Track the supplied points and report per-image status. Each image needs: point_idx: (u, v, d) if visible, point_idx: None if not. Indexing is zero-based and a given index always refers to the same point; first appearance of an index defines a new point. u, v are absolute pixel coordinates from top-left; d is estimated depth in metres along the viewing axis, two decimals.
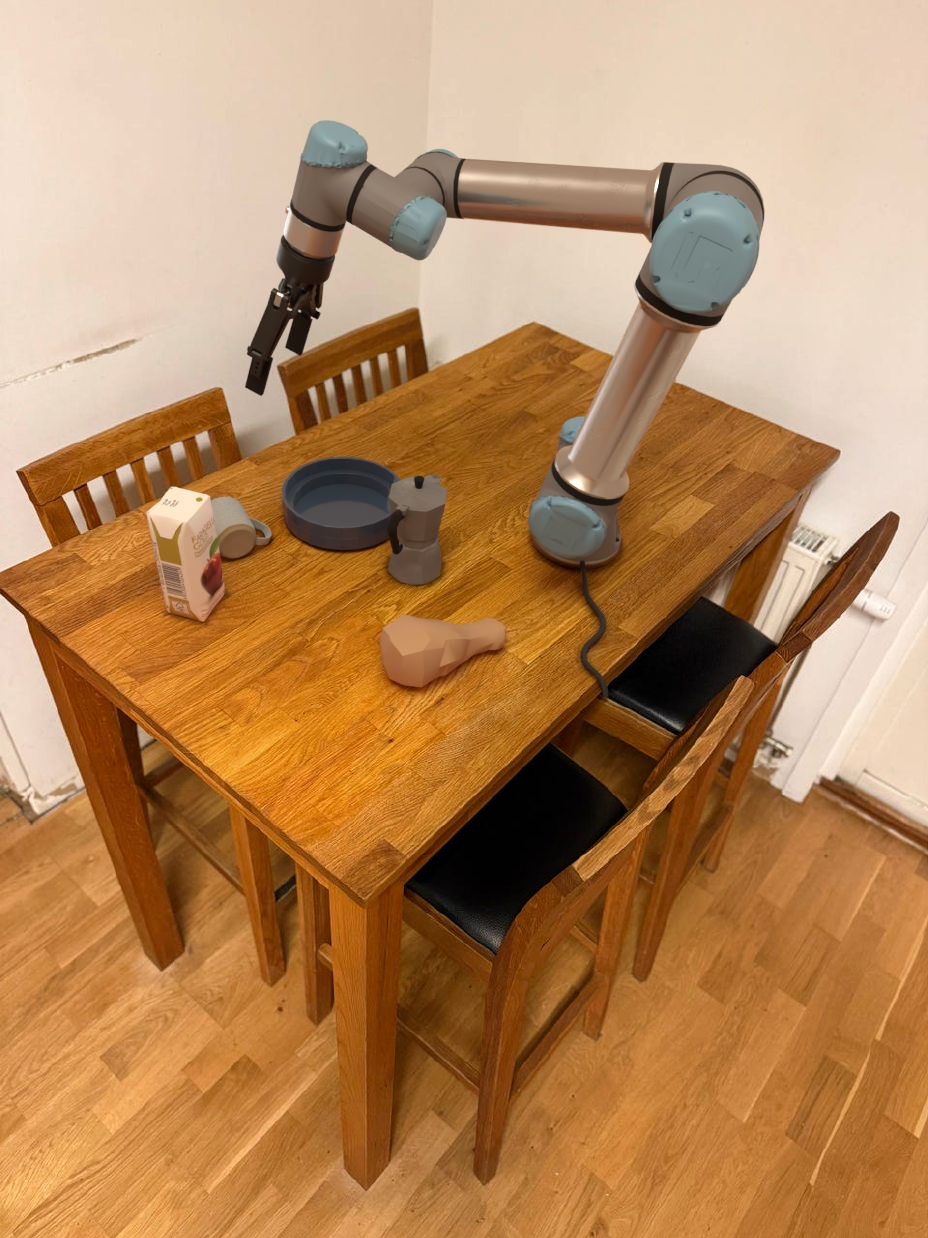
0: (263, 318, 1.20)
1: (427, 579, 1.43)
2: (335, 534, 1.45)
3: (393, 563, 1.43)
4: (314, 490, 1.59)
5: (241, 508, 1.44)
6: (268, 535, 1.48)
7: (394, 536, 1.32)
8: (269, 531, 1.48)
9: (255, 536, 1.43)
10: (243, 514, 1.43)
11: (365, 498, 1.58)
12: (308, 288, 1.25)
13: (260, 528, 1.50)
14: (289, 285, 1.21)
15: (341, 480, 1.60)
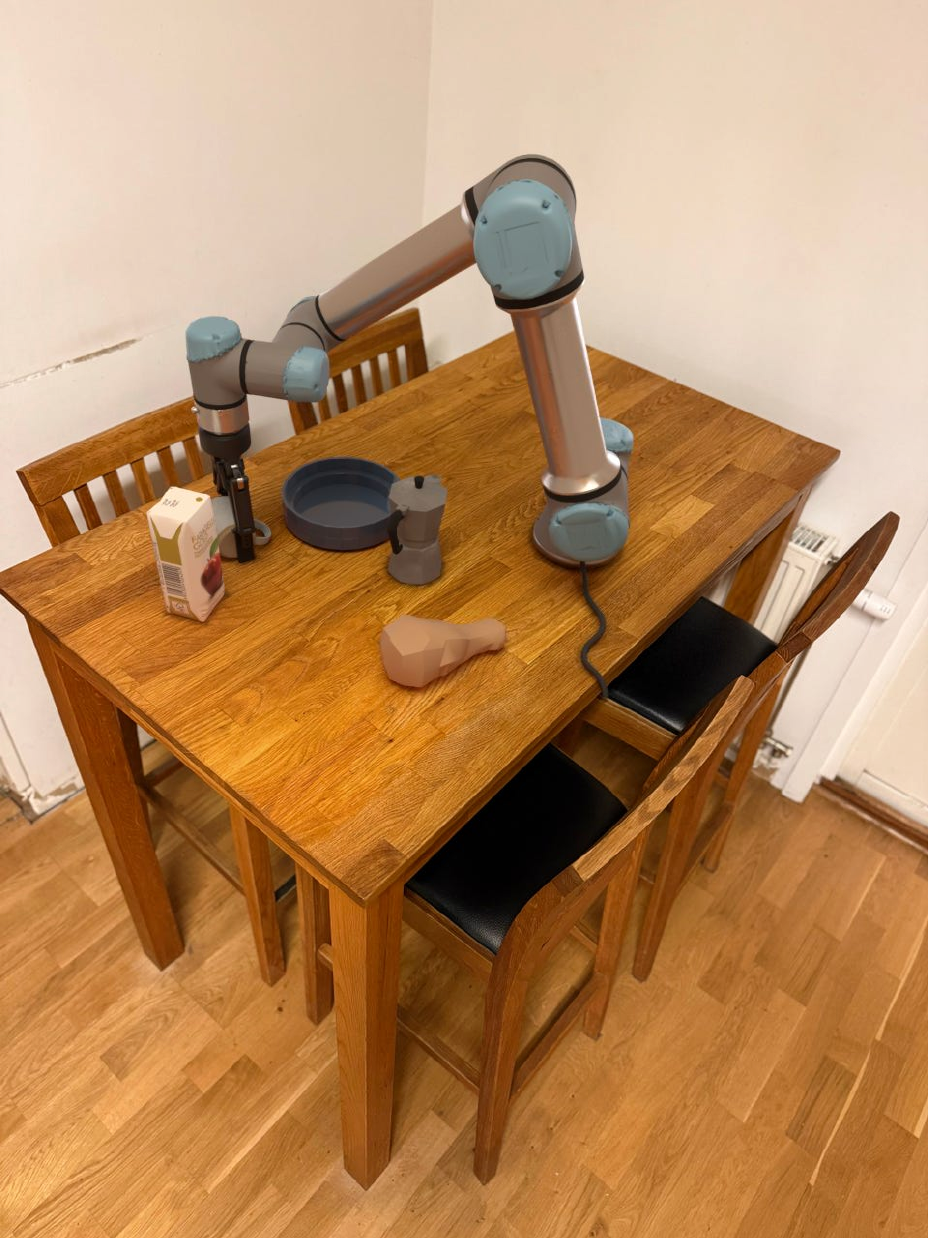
0: (237, 504, 1.34)
1: (427, 579, 1.43)
2: (335, 534, 1.45)
3: (393, 563, 1.43)
4: (314, 490, 1.59)
5: None
6: (267, 534, 1.48)
7: (394, 536, 1.32)
8: (268, 530, 1.49)
9: (254, 535, 1.43)
10: None
11: (365, 498, 1.58)
12: None
13: (259, 527, 1.50)
14: (233, 463, 1.33)
15: (341, 480, 1.60)
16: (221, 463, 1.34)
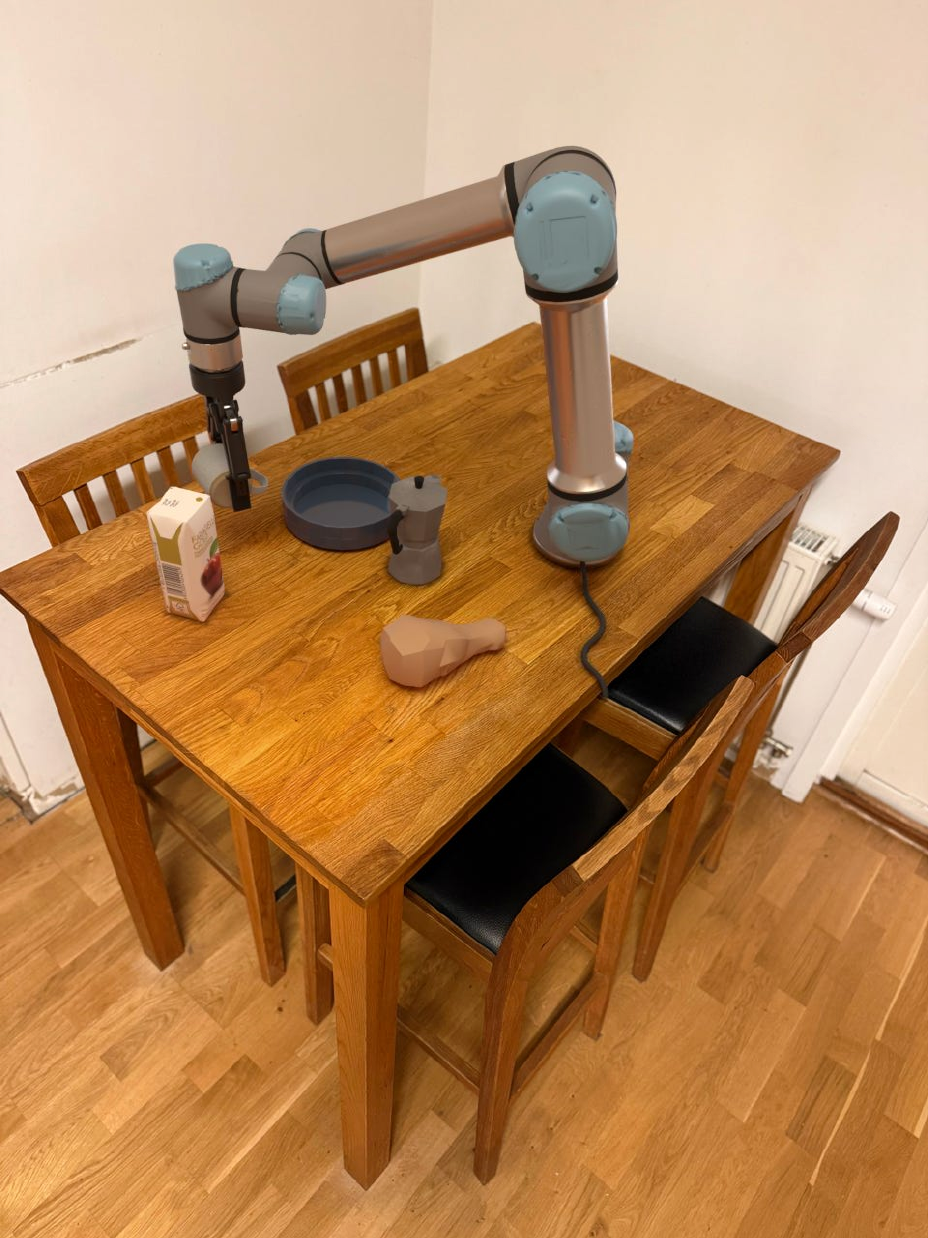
0: (230, 447, 1.27)
1: (427, 579, 1.43)
2: (335, 534, 1.45)
3: (393, 563, 1.43)
4: (314, 490, 1.59)
5: None
6: (264, 484, 1.41)
7: (394, 536, 1.32)
8: (265, 480, 1.42)
9: (250, 484, 1.37)
10: None
11: (365, 498, 1.58)
12: None
13: (256, 478, 1.43)
14: (227, 403, 1.26)
15: (341, 480, 1.60)
16: (214, 404, 1.28)
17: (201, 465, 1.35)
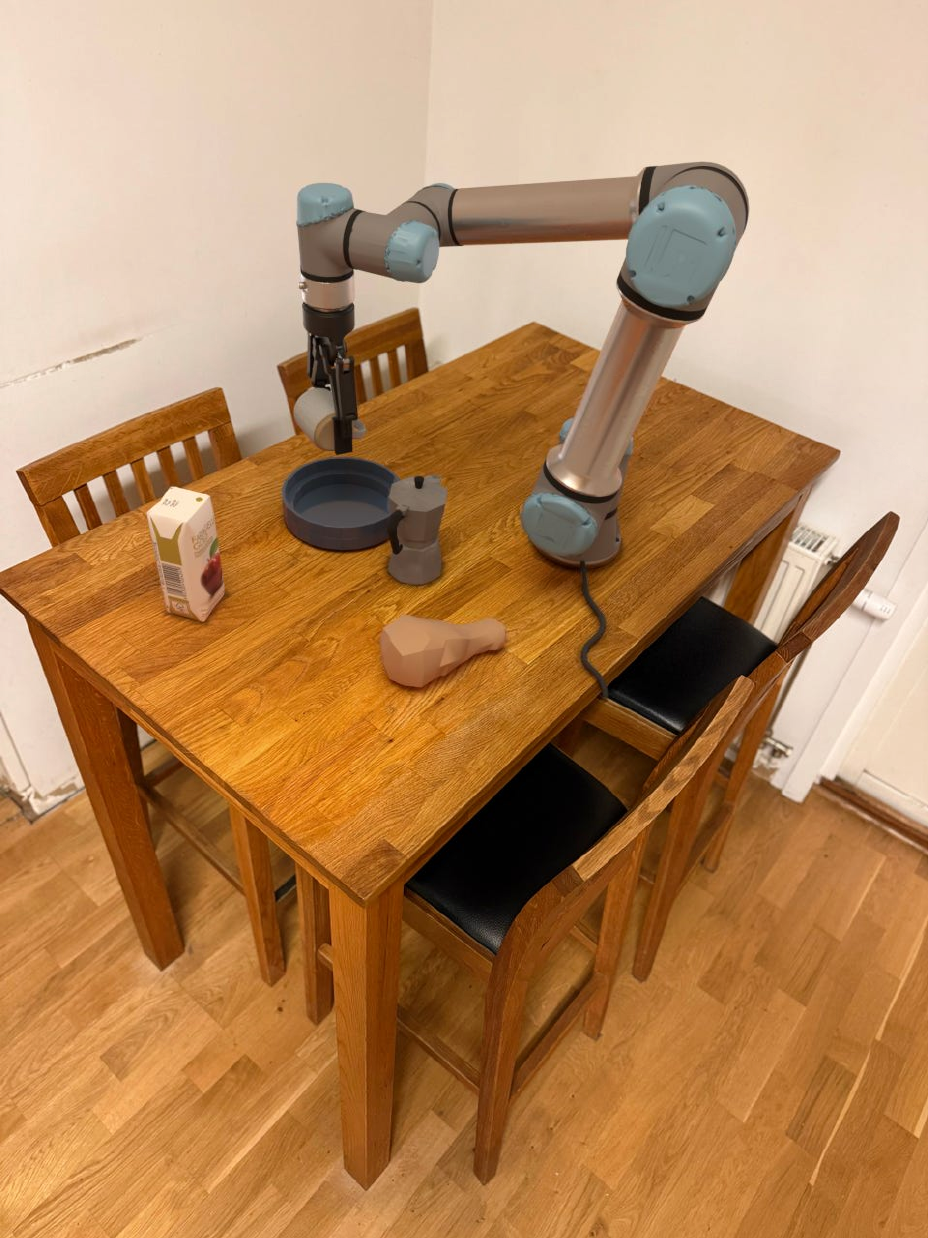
0: (341, 387, 1.30)
1: (427, 579, 1.43)
2: (335, 534, 1.45)
3: (393, 563, 1.43)
4: (314, 490, 1.59)
5: None
6: (363, 429, 1.44)
7: (394, 536, 1.32)
8: (363, 426, 1.44)
9: (352, 427, 1.39)
10: None
11: (365, 498, 1.58)
12: None
13: (353, 423, 1.46)
14: (338, 344, 1.29)
15: (341, 480, 1.60)
16: (324, 345, 1.30)
17: (305, 408, 1.38)
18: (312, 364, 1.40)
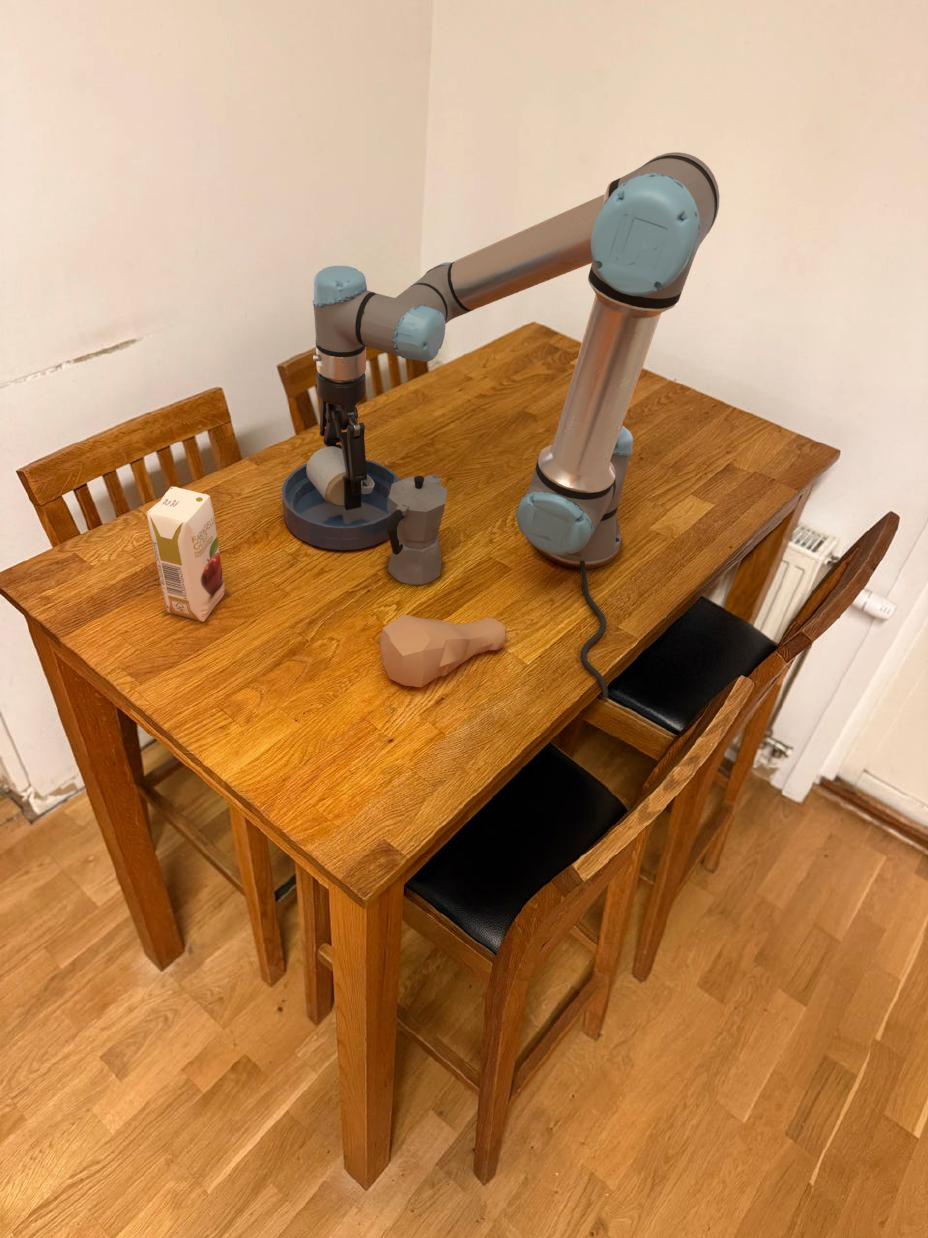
0: (352, 451, 1.38)
1: (427, 579, 1.43)
2: (335, 534, 1.45)
3: (393, 563, 1.43)
4: (314, 490, 1.59)
5: None
6: (371, 485, 1.52)
7: (394, 536, 1.32)
8: (371, 481, 1.53)
9: (361, 484, 1.48)
10: None
11: (365, 498, 1.58)
12: None
13: None
14: (350, 411, 1.37)
15: None
16: (336, 411, 1.39)
17: (317, 466, 1.47)
18: (324, 424, 1.49)
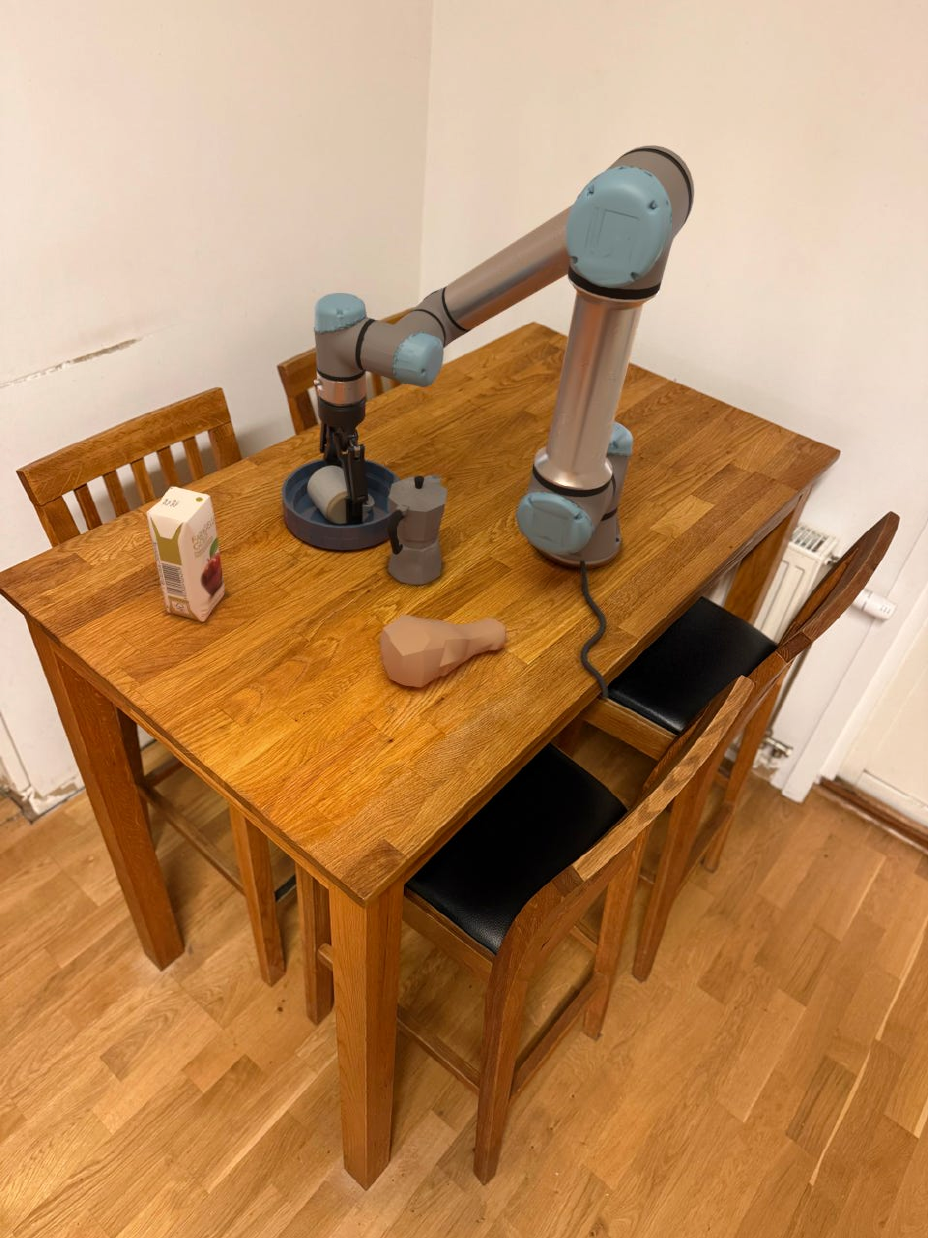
0: (353, 472, 1.41)
1: (427, 579, 1.43)
2: (335, 534, 1.45)
3: (393, 563, 1.43)
4: None
5: None
6: (371, 503, 1.55)
7: (394, 536, 1.32)
8: (371, 499, 1.56)
9: None
10: None
11: None
12: None
13: None
14: (350, 433, 1.40)
15: None
16: (337, 433, 1.42)
17: (318, 485, 1.49)
18: (324, 442, 1.52)
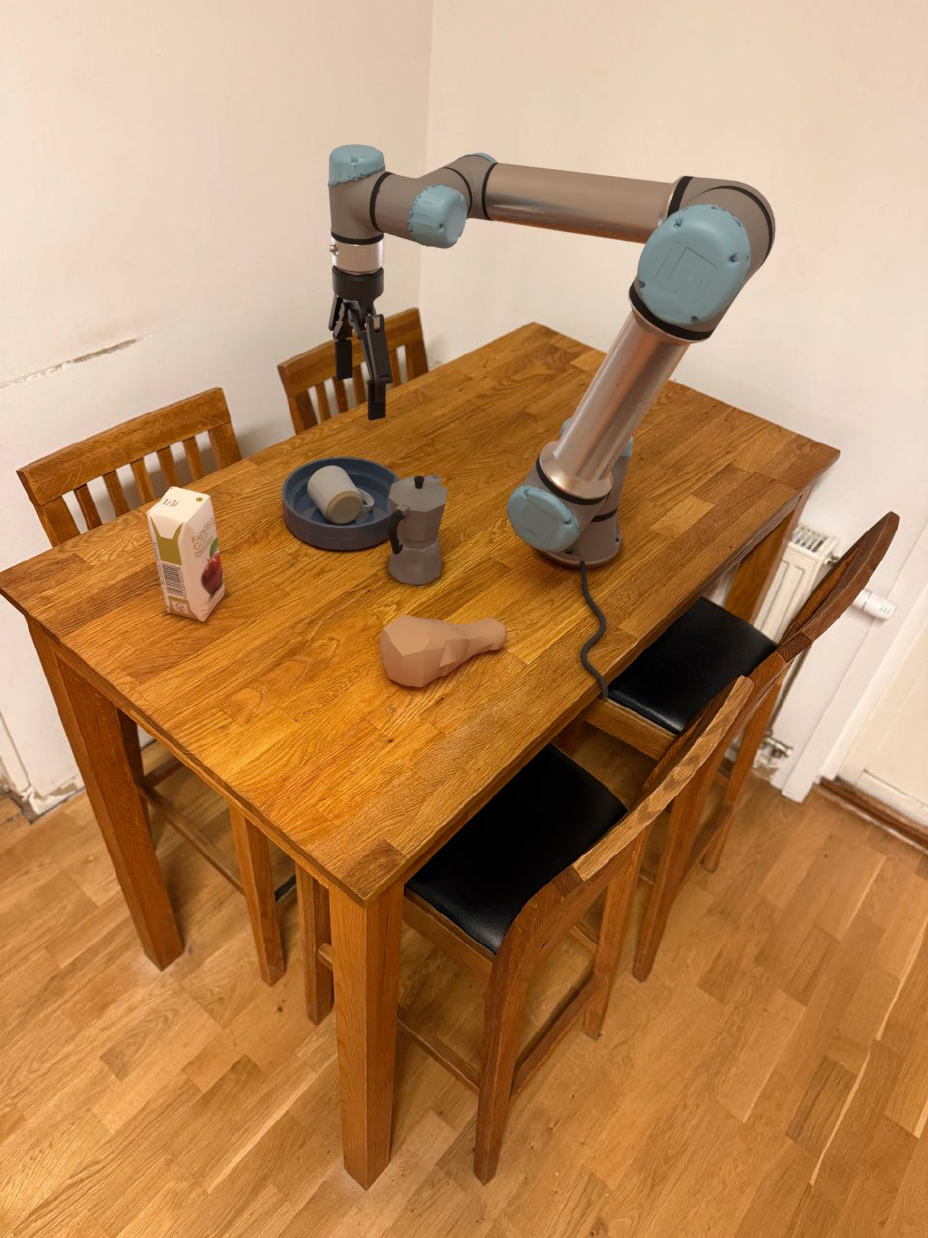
0: (373, 346, 1.29)
1: (427, 579, 1.43)
2: (335, 534, 1.45)
3: (393, 563, 1.43)
4: None
5: (347, 476, 1.52)
6: (371, 503, 1.55)
7: (394, 536, 1.32)
8: (371, 499, 1.56)
9: (362, 503, 1.51)
10: (350, 482, 1.50)
11: None
12: None
13: (362, 497, 1.57)
14: (368, 308, 1.29)
15: None
16: (353, 310, 1.31)
17: (318, 485, 1.49)
18: (335, 320, 1.41)
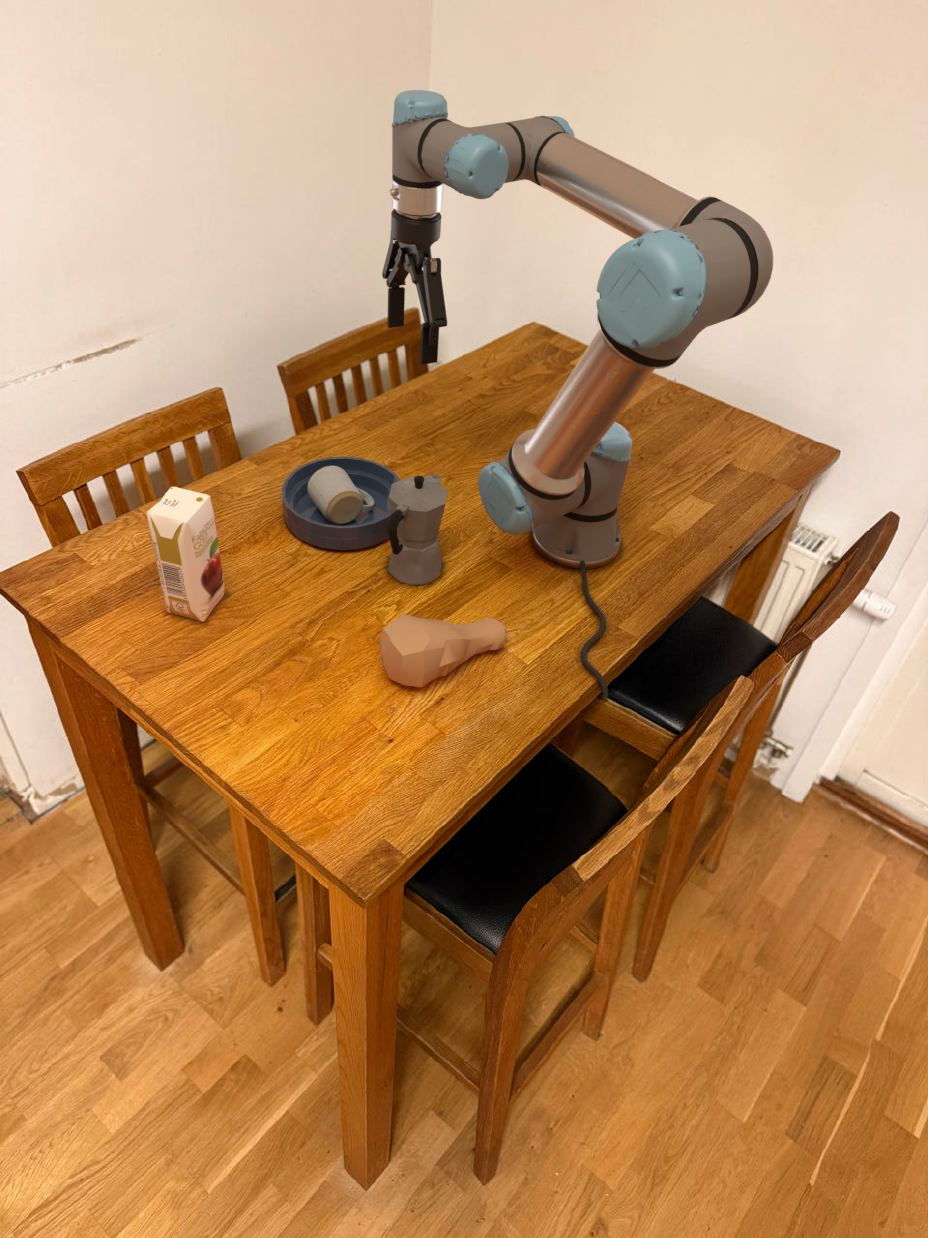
0: (429, 289, 1.33)
1: (427, 579, 1.43)
2: (335, 534, 1.45)
3: (393, 563, 1.43)
4: None
5: (347, 476, 1.52)
6: (371, 503, 1.55)
7: (394, 536, 1.32)
8: (371, 499, 1.56)
9: (362, 503, 1.51)
10: (350, 482, 1.50)
11: None
12: None
13: (362, 497, 1.57)
14: (425, 252, 1.33)
15: None
16: (410, 254, 1.35)
17: (318, 485, 1.49)
18: (389, 267, 1.45)
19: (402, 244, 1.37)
